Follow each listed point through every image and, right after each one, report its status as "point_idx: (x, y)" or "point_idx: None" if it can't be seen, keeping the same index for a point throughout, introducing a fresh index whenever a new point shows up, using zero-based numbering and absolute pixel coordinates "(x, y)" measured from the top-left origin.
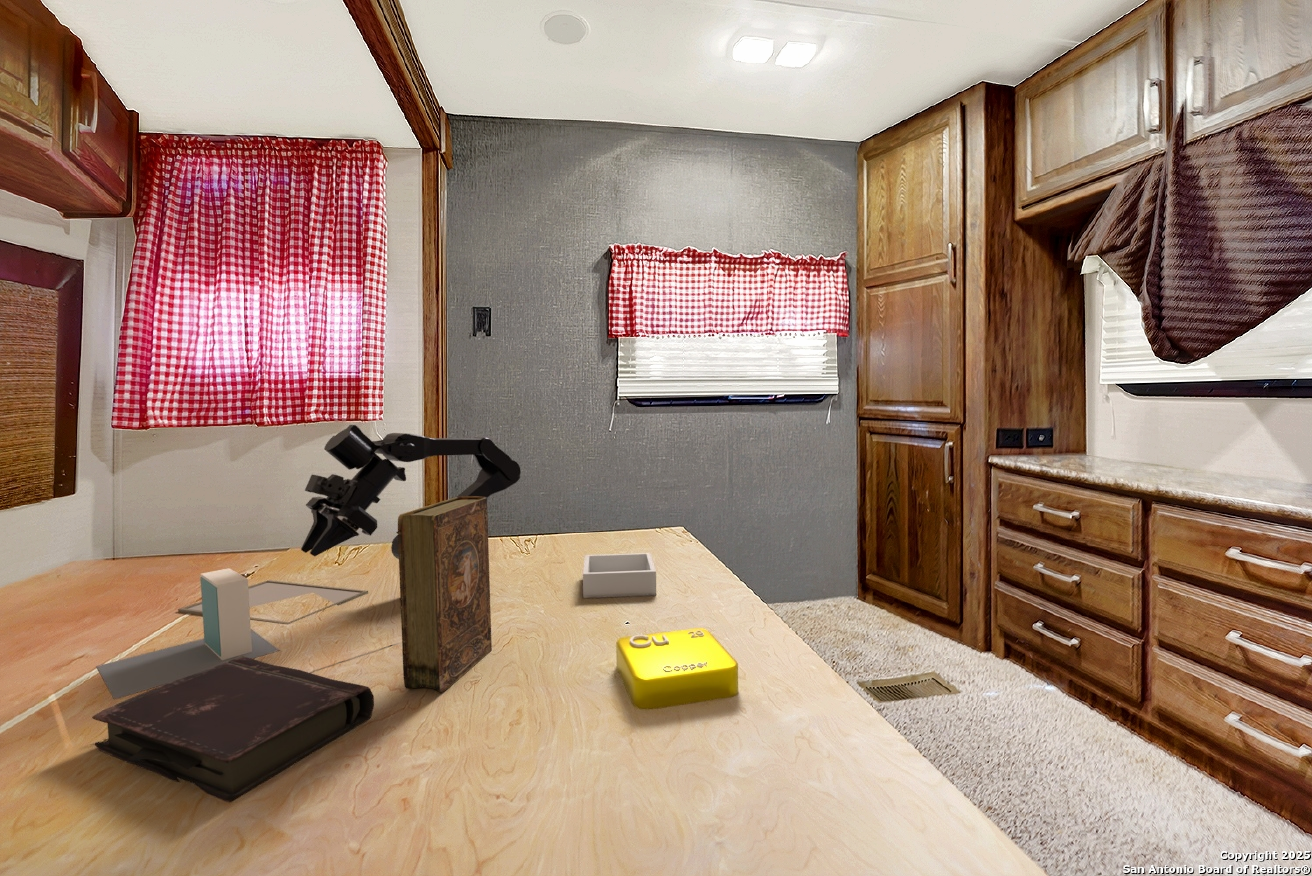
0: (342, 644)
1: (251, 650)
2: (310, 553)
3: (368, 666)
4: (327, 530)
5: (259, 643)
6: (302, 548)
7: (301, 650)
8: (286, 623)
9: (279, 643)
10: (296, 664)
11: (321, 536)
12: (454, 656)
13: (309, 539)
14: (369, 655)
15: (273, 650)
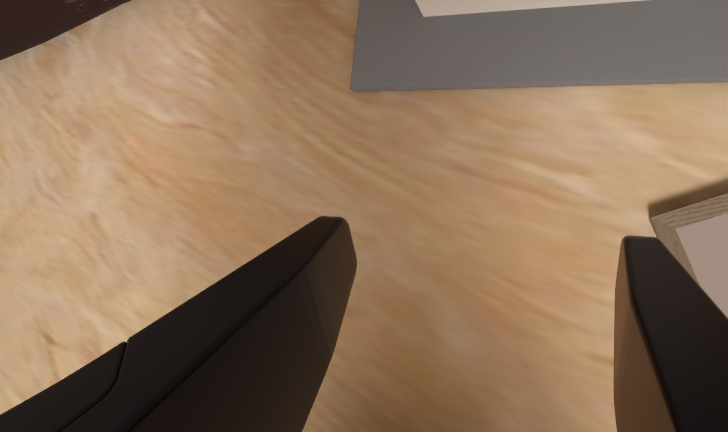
0: (244, 260)
1: (423, 13)
2: (325, 216)
3: (55, 223)
4: (2, 422)
5: (489, 55)
6: (626, 246)
7: (313, 148)
8: (662, 214)
9: (451, 120)
10: (223, 97)
11: (171, 347)
12: None
13: (641, 363)
14: (106, 265)
15: (368, 72)
